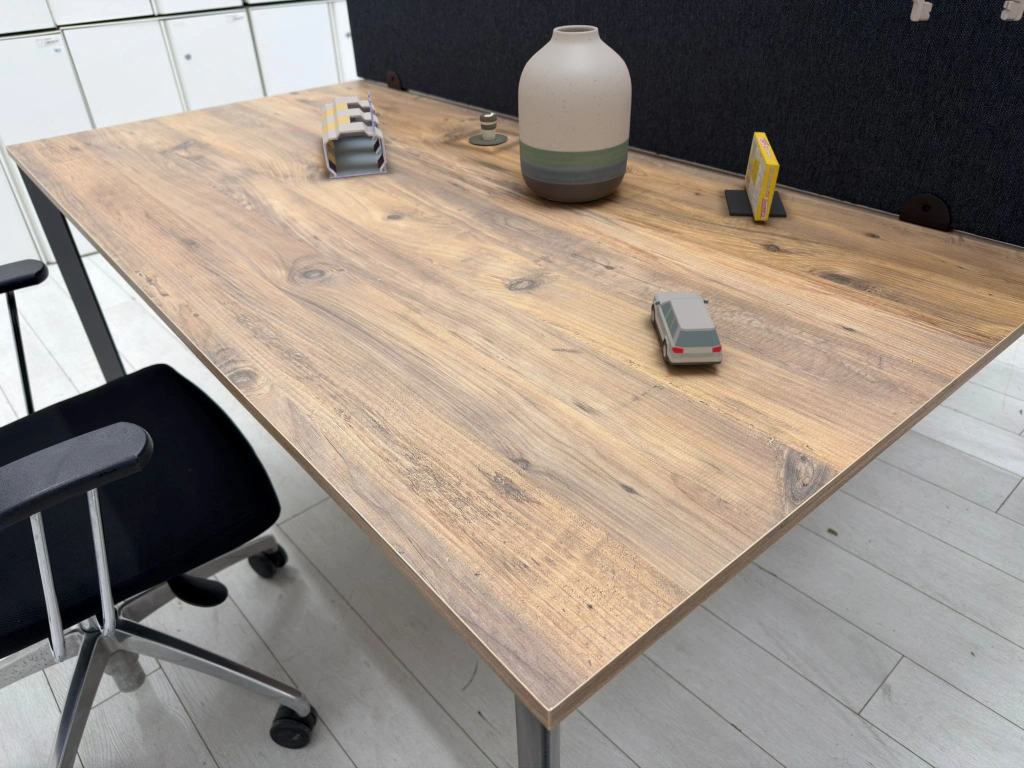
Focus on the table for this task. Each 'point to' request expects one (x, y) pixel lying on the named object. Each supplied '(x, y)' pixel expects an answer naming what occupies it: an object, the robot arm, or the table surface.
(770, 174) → the candy box
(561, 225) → the table surface
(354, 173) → the diorama
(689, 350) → the toy car
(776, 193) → the mat
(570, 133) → the vase
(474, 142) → the striped post on disc
